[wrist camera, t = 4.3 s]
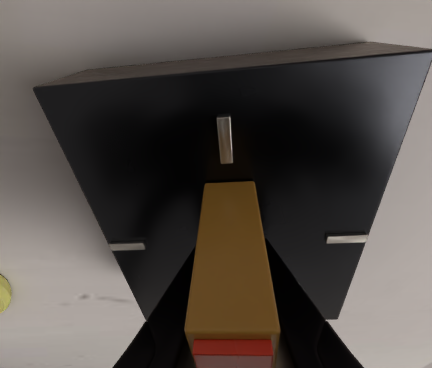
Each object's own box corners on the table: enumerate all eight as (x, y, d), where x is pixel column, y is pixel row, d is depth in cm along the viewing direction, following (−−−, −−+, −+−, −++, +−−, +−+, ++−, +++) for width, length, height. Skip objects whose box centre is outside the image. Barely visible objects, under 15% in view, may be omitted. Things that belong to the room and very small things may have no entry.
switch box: (253, 284, 11) (269, 437, 7) (217, 284, 11) (211, 436, 7) (254, 179, 8) (284, 350, 4) (204, 182, 8) (180, 349, 4)
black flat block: (318, 269, 15) (339, 323, 12) (158, 273, 15) (145, 324, 13) (371, 41, 8) (443, 49, 5) (86, 69, 9) (26, 88, 6)
